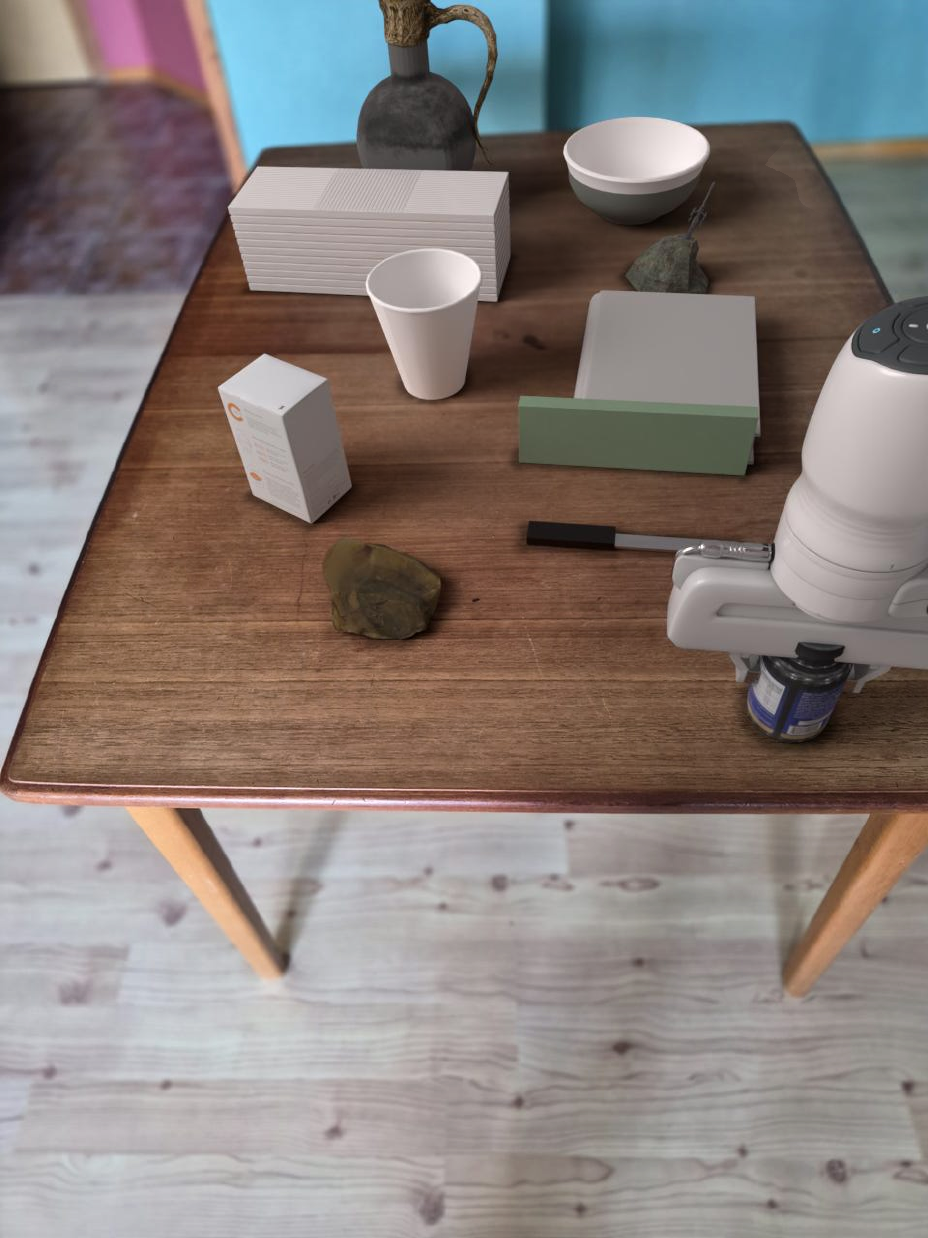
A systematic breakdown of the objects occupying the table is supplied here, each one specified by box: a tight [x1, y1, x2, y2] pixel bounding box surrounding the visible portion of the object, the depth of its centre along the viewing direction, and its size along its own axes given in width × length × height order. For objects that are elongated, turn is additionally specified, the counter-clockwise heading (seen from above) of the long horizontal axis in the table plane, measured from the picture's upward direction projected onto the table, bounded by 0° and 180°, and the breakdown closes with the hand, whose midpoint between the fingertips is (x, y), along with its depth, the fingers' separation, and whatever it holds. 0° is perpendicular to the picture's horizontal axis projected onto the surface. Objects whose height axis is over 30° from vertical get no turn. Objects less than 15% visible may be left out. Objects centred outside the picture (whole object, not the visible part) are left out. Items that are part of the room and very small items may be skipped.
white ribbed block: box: [227, 165, 512, 303], centre depth 110 cm, size 32×11×11 cm, turn 79°
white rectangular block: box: [573, 289, 761, 466], centre depth 94 cm, size 18×4×24 cm
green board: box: [517, 395, 759, 476], centre depth 85 cm, size 22×2×7 cm, turn 81°
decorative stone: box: [321, 536, 442, 640], centre depth 77 cm, size 10×9×4 cm
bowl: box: [563, 116, 711, 226], centre depth 117 cm, size 19×19×8 cm
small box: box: [217, 353, 353, 525], centre depth 83 cm, size 8×6×13 cm
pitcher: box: [356, 0, 499, 171], centre depth 112 cm, size 11×19×30 cm, turn 76°
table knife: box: [525, 520, 739, 554], centre depth 81 cm, size 19×2×1 cm, turn 81°
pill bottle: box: [745, 642, 853, 743], centre depth 64 cm, size 6×6×11 cm
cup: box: [366, 248, 483, 401], centre depth 94 cm, size 12×12×12 cm
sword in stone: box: [625, 181, 717, 294], centre depth 104 cm, size 10×8×12 cm
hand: (796, 680), depth 66 cm, fingers closed on pill bottle, 6 cm apart
